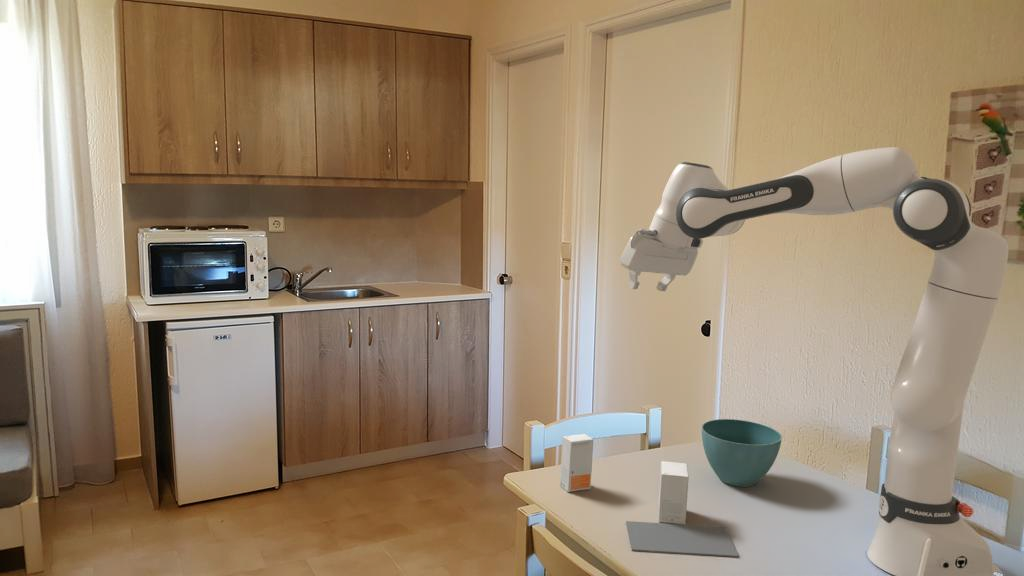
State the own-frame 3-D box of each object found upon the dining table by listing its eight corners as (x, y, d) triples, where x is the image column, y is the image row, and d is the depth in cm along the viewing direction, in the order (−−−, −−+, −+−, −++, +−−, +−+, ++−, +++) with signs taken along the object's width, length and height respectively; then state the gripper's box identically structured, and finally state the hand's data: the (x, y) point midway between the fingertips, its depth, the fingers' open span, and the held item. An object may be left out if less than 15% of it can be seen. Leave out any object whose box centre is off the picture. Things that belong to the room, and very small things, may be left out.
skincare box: (568, 493, 165) (570, 441, 163) (559, 485, 169) (561, 435, 167) (591, 489, 168) (594, 439, 166) (582, 482, 171) (584, 433, 170)
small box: (685, 526, 151) (689, 477, 149) (657, 522, 152) (661, 474, 150) (684, 509, 159) (687, 462, 157) (658, 506, 160) (661, 460, 158)
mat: (724, 528, 150) (724, 526, 150) (738, 557, 138) (738, 555, 138) (625, 522, 151) (626, 521, 151) (631, 550, 140) (631, 549, 139)
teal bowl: (792, 483, 175) (796, 434, 173) (749, 502, 163) (754, 449, 162) (726, 460, 189) (730, 414, 187) (683, 476, 177) (686, 427, 175)
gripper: (646, 233, 153) (623, 293, 157) (708, 242, 165) (685, 297, 170) (627, 222, 157) (605, 280, 162) (688, 231, 170) (666, 285, 174)
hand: (646, 289), depth 166 cm, fingers open, 8 cm apart
